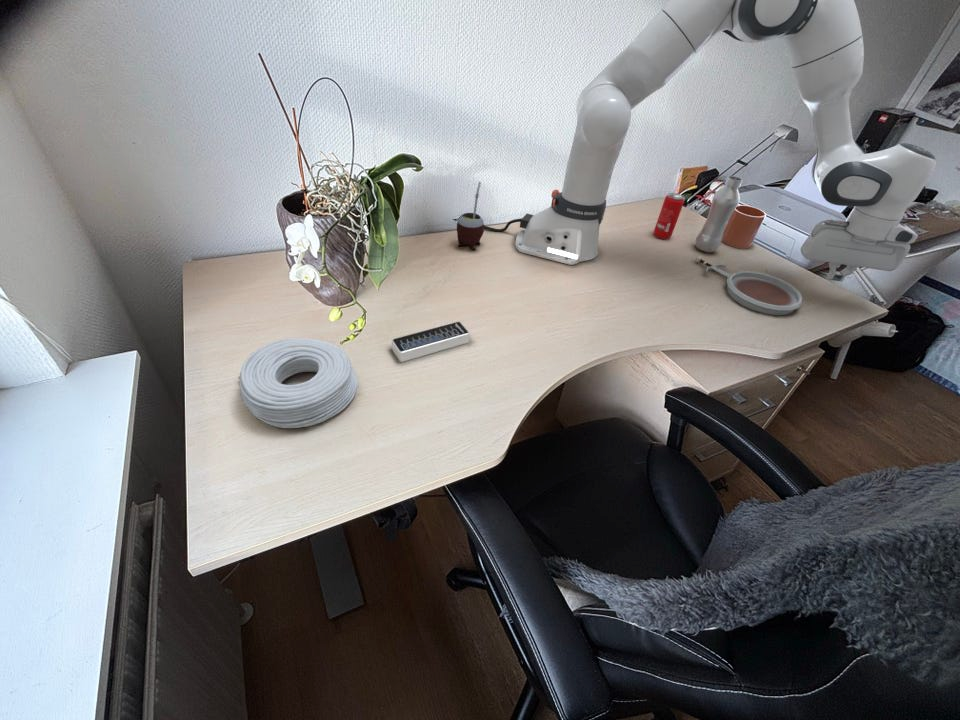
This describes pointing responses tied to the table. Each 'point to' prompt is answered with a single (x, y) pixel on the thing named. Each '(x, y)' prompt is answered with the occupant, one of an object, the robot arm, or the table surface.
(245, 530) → the table surface
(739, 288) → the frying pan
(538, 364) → the table surface
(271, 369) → the cable
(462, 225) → the mate gourd
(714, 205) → the plastic bottle
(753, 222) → the mug
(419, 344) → the multiport hub
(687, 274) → the table surface
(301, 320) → the table surface
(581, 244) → the robot arm
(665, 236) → the beverage can
